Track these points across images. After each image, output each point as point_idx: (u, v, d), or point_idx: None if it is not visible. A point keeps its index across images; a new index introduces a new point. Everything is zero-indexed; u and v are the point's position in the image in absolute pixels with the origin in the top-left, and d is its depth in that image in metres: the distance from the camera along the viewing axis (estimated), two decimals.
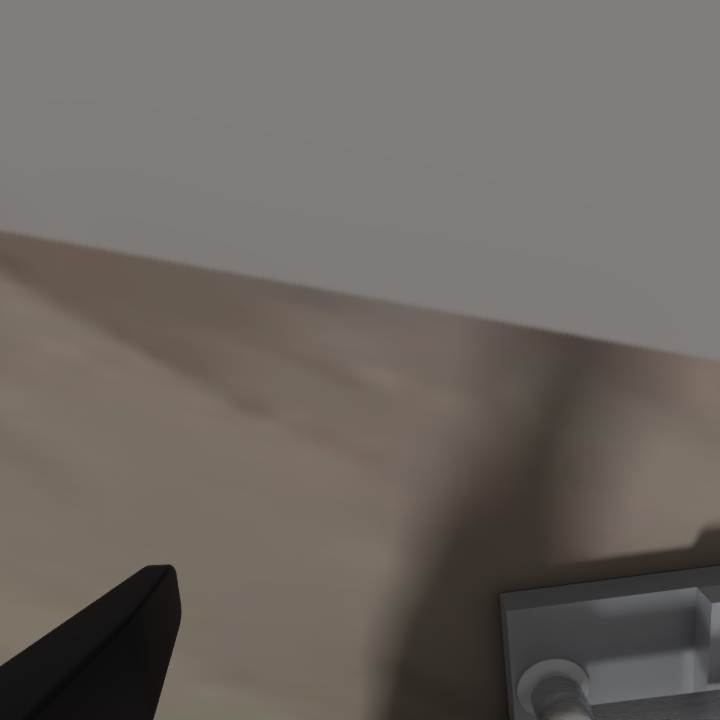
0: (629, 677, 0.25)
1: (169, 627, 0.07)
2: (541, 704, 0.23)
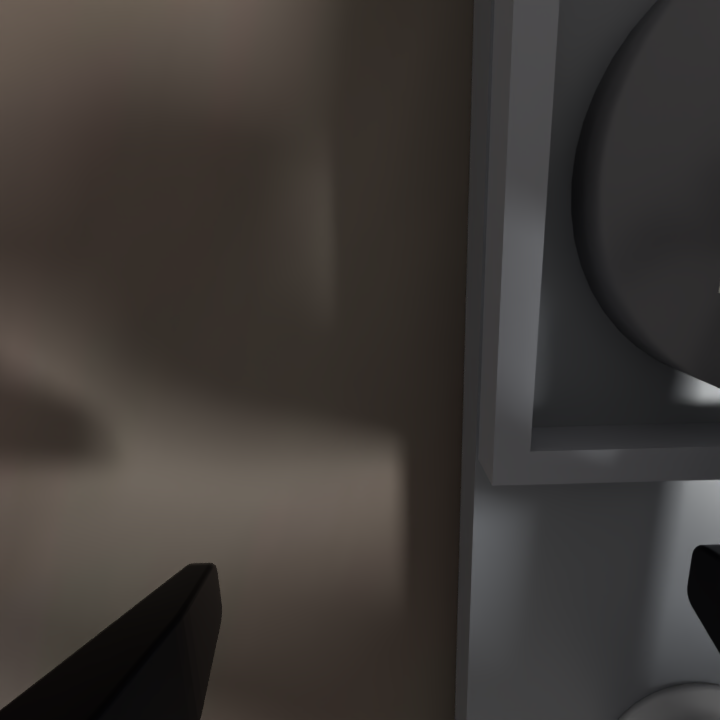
0: None
1: (212, 625, 0.07)
2: None
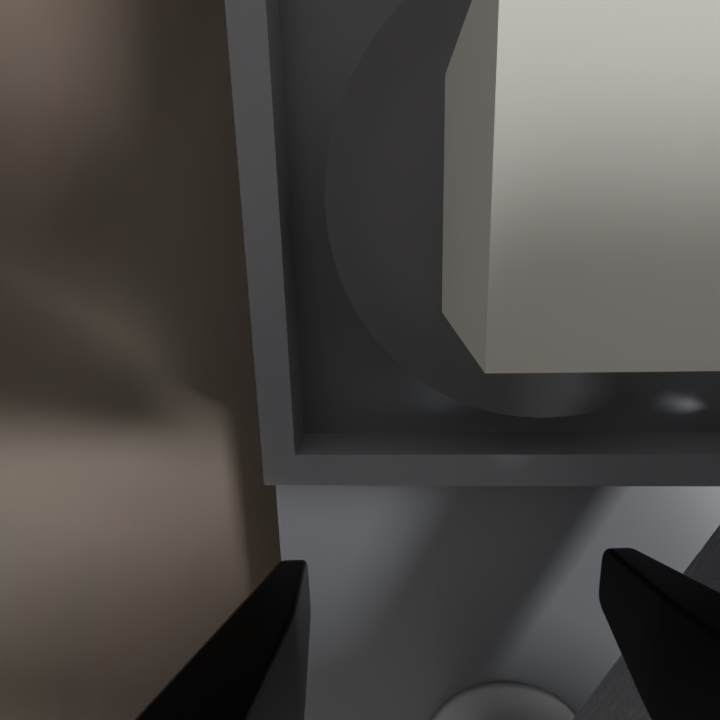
0: (515, 601, 0.10)
1: (307, 622, 0.07)
2: None
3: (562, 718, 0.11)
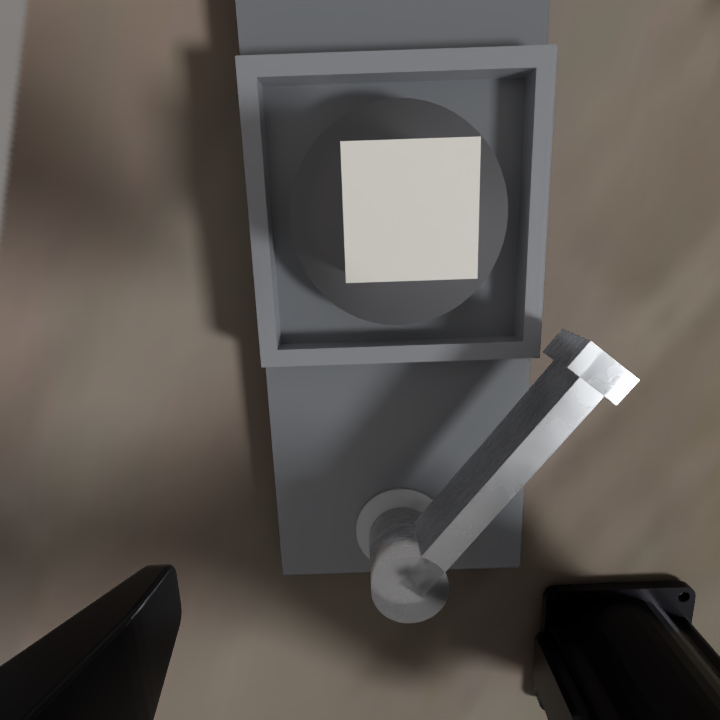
0: (400, 437, 0.19)
1: (169, 627, 0.07)
2: None
3: None
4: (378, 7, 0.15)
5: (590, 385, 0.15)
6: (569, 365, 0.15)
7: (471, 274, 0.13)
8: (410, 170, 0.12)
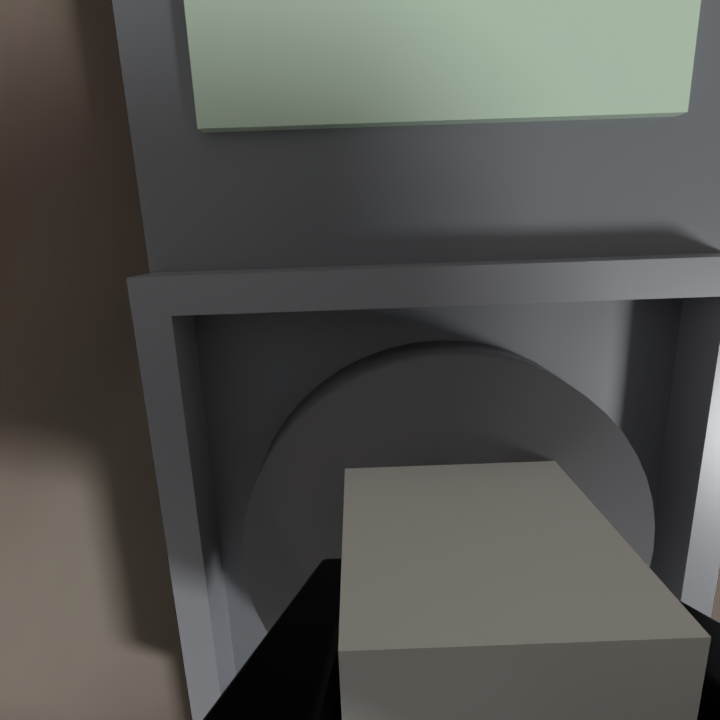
0: None
1: None
2: None
3: None
4: (411, 167, 0.08)
5: None
6: None
7: None
8: (521, 706, 0.05)
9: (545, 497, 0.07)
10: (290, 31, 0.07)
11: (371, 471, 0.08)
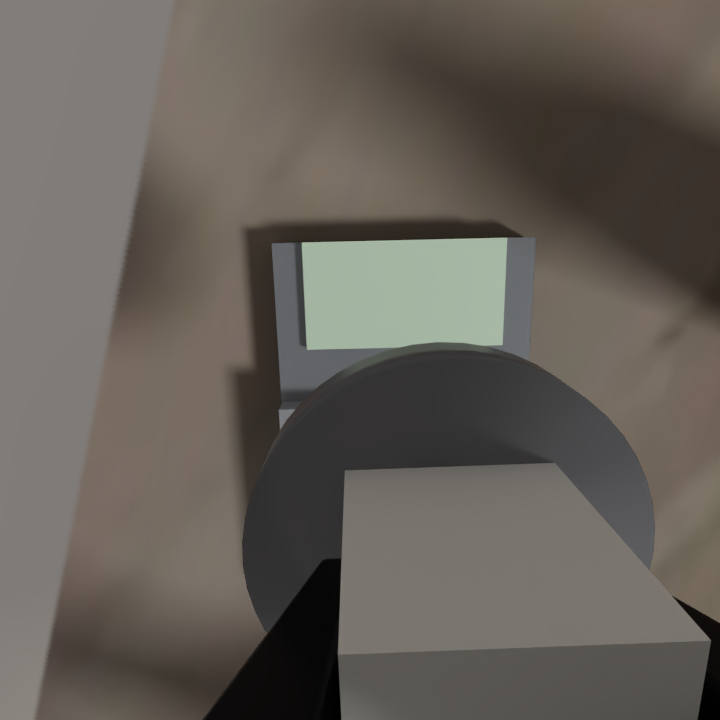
0: None
1: None
2: None
3: None
4: None
5: None
6: None
7: None
8: (521, 709, 0.05)
9: (545, 498, 0.07)
10: (345, 315, 0.19)
11: (371, 473, 0.08)
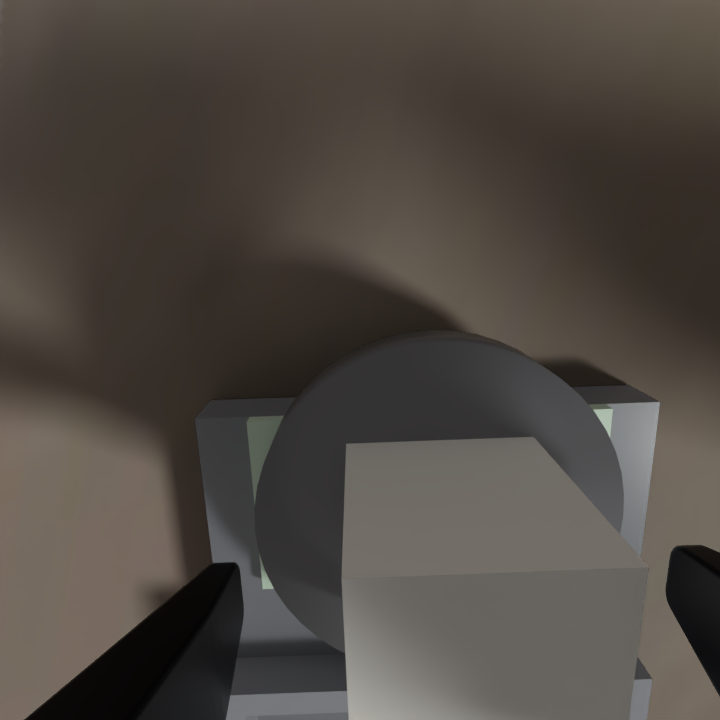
0: None
1: (236, 625, 0.07)
2: None
3: None
4: None
5: None
6: None
7: None
8: (493, 626, 0.06)
9: (522, 465, 0.08)
10: None
11: (369, 445, 0.09)
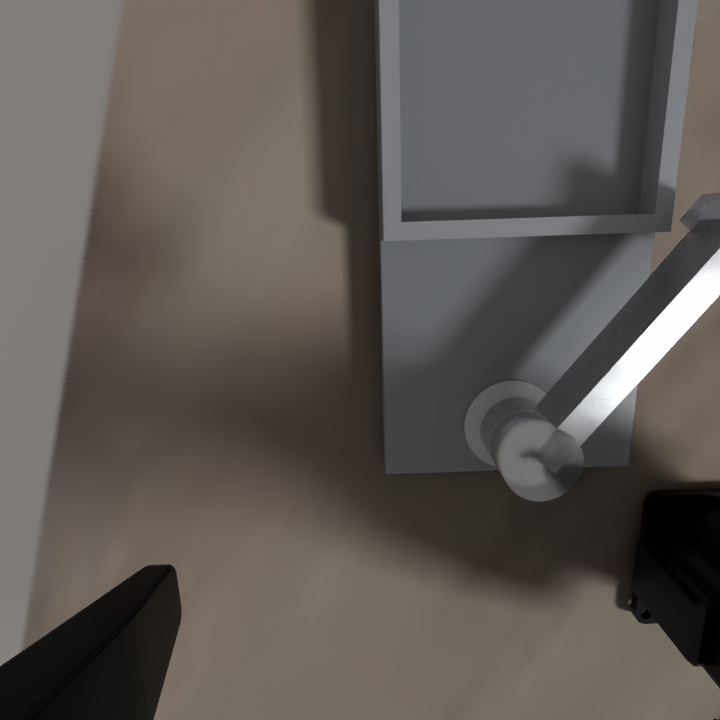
0: (515, 325, 0.18)
1: (169, 627, 0.07)
2: (487, 448, 0.18)
3: None
4: None
5: None
6: None
7: None
8: None
9: None
10: None
11: None
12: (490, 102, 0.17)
